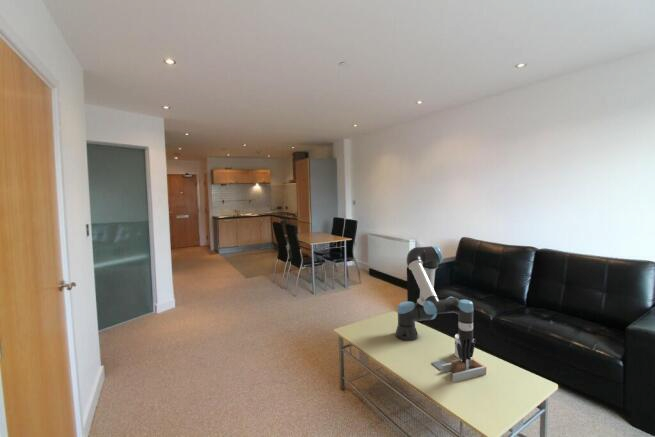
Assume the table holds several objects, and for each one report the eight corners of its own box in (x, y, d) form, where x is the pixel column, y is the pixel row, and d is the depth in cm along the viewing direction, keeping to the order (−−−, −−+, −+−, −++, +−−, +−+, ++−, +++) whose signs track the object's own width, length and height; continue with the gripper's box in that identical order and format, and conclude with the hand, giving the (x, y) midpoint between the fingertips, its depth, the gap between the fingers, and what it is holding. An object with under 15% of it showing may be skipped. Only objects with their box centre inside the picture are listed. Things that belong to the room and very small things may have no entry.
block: (451, 372, 176) (451, 360, 175) (458, 370, 177) (458, 358, 177) (457, 377, 171) (457, 365, 170) (465, 375, 172) (465, 363, 172)
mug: (477, 359, 188) (477, 340, 187) (465, 363, 185) (466, 343, 184) (462, 351, 199) (462, 332, 198) (451, 353, 196) (451, 335, 195)
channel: (441, 371, 177) (441, 364, 177) (472, 364, 183) (472, 357, 183) (454, 382, 167) (454, 374, 167) (486, 374, 173) (486, 367, 173)
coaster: (431, 363, 186) (431, 362, 186) (442, 360, 188) (442, 359, 188) (439, 370, 178) (439, 369, 178) (451, 367, 181) (451, 366, 180)
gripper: (460, 333, 168) (460, 375, 170) (480, 329, 172) (480, 371, 174) (451, 327, 175) (451, 368, 177) (470, 324, 179) (470, 364, 181)
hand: (465, 369), depth 175 cm, fingers closed
